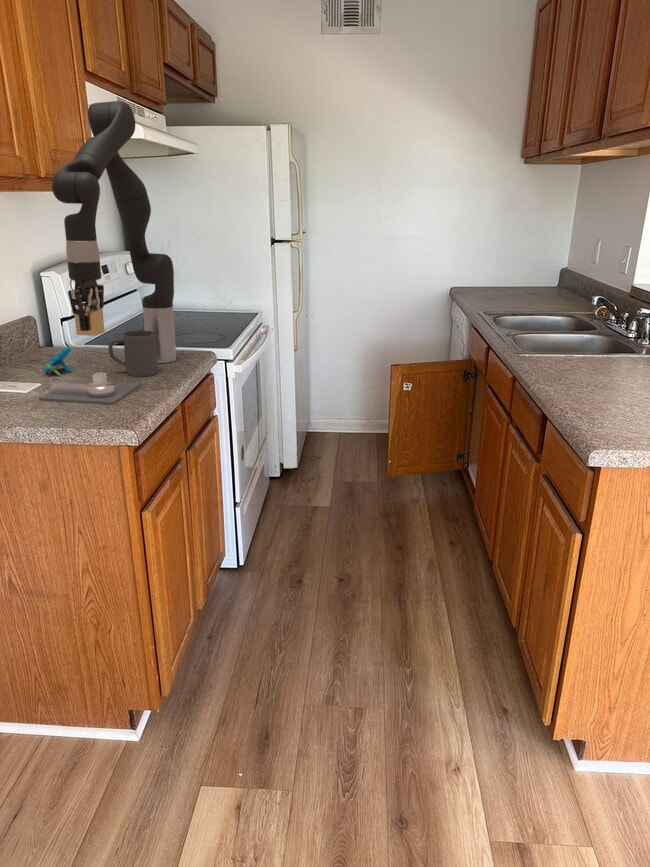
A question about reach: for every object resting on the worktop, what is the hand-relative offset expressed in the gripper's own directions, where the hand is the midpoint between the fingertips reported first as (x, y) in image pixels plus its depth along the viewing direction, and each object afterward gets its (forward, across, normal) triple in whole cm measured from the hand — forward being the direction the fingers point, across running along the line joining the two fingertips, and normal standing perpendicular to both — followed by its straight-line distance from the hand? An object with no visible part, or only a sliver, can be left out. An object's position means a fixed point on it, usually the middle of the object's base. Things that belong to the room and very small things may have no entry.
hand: (90, 328), depth 163 cm
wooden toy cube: (+1, 0, 0) cm, 1 cm away
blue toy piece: (+18, -20, -22) cm, 35 cm away
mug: (+18, -24, 0) cm, 30 cm away
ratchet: (+17, 0, -3) cm, 18 cm away
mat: (+18, -3, -3) cm, 18 cm away
